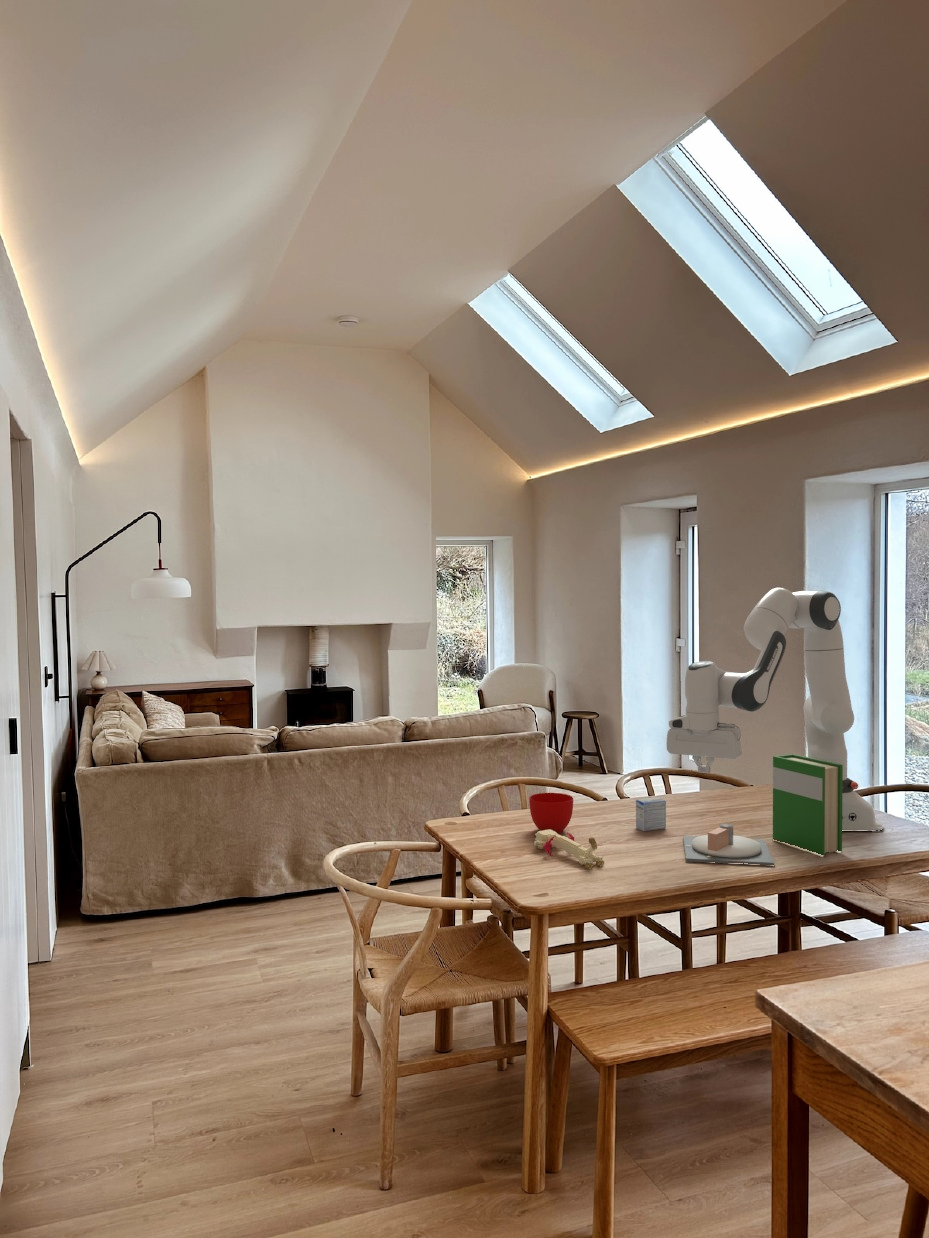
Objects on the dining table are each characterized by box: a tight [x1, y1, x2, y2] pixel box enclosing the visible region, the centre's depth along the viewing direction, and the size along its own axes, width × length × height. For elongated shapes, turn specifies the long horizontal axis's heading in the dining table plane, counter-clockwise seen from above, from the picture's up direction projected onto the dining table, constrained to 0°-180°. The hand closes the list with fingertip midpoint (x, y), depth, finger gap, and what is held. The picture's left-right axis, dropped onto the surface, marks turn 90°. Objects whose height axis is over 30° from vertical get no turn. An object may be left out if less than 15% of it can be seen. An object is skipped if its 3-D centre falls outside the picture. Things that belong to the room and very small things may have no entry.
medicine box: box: [635, 796, 667, 832], centre depth 272 cm, size 8×4×9 cm, turn 113°
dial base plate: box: [682, 835, 775, 866], centre depth 248 cm, size 22×22×1 cm
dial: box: [692, 823, 761, 858], centre depth 248 cm, size 18×18×6 cm
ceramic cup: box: [528, 792, 574, 835], centre depth 272 cm, size 13×17×10 cm
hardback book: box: [772, 753, 843, 856], centre depth 252 cm, size 18×7×24 cm, turn 26°
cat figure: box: [533, 830, 605, 870], centre depth 245 cm, size 10×9×25 cm
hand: (704, 772), depth 248 cm, fingers closed
